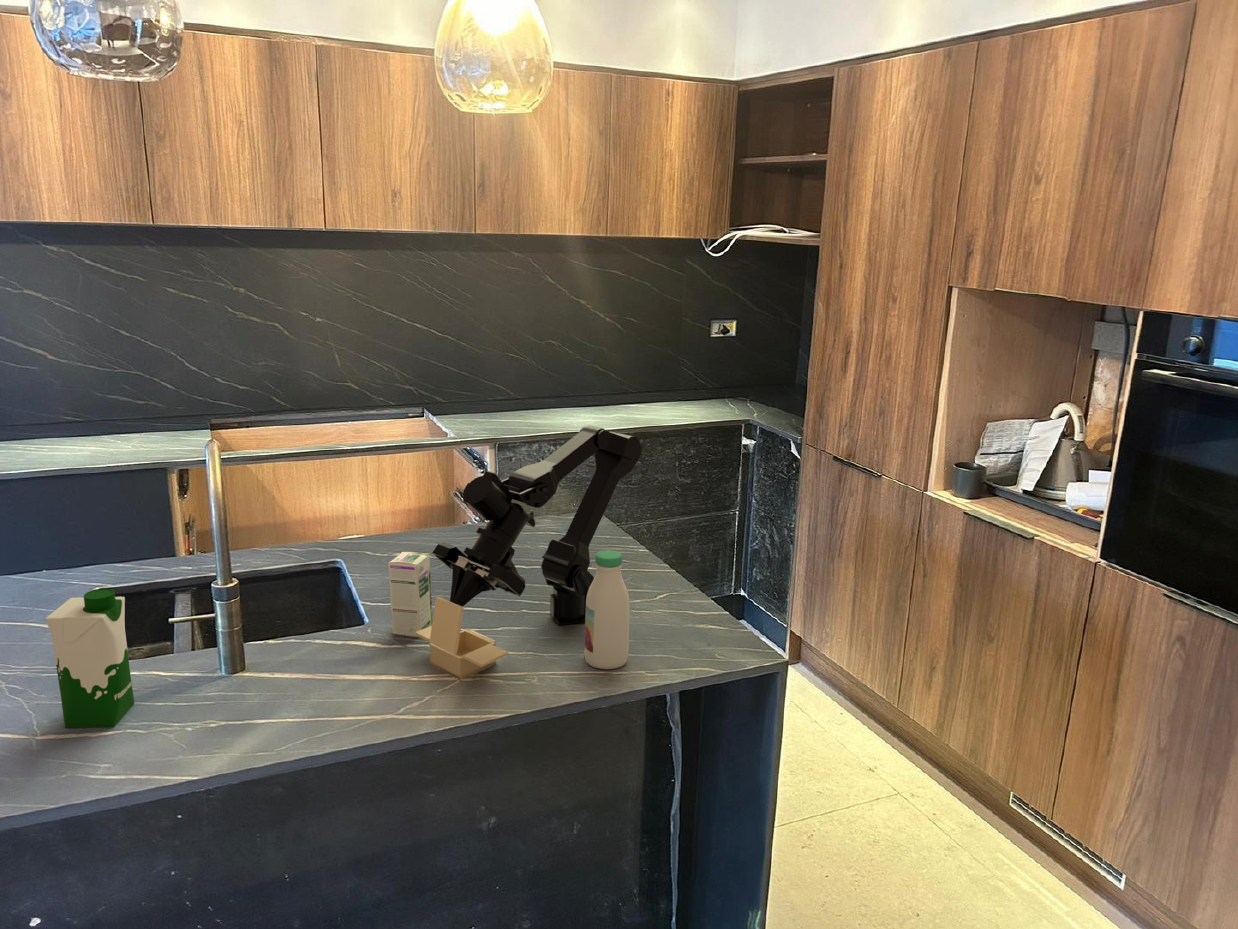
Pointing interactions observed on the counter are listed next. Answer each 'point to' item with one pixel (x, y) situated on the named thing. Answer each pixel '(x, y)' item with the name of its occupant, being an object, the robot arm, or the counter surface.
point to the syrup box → (410, 593)
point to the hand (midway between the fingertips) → (451, 611)
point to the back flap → (446, 625)
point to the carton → (464, 654)
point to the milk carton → (92, 659)
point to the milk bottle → (607, 614)
